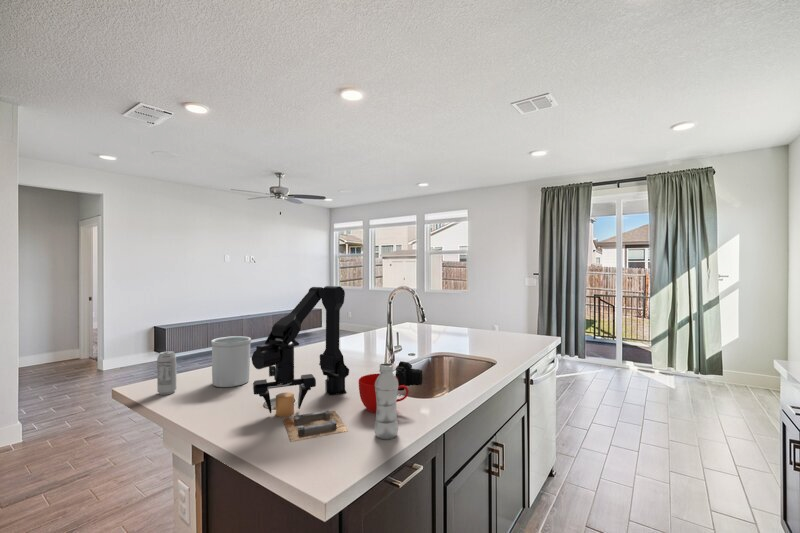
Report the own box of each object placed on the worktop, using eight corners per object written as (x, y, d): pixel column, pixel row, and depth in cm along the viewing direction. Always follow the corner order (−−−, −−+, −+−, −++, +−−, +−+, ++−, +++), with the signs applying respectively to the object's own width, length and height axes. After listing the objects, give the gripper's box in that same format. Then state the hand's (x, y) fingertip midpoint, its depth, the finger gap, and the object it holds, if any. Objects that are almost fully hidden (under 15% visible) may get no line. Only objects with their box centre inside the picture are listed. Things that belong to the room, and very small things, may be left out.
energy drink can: (180, 390, 142) (179, 350, 142) (168, 395, 136) (168, 354, 136) (165, 389, 143) (165, 350, 143) (153, 395, 137) (153, 354, 137)
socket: (335, 412, 120) (335, 406, 120) (348, 432, 106) (348, 425, 106) (283, 420, 114) (283, 414, 114) (290, 443, 99) (290, 436, 99)
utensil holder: (238, 374, 162) (238, 334, 162) (258, 380, 153) (258, 338, 153) (204, 383, 150) (204, 340, 150) (223, 390, 141) (223, 344, 141)
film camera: (418, 392, 139) (418, 368, 139) (393, 391, 141) (393, 367, 141) (424, 380, 154) (424, 358, 154) (401, 378, 156) (401, 357, 156)
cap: (292, 409, 122) (292, 391, 122) (295, 416, 117) (295, 397, 117) (274, 412, 120) (274, 393, 120) (276, 419, 115) (276, 399, 115)
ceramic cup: (401, 422, 113) (401, 389, 113) (351, 414, 119) (351, 382, 118) (414, 406, 125) (414, 376, 125) (368, 400, 131) (368, 371, 131)
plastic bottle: (373, 432, 106) (373, 362, 106) (397, 431, 106) (397, 361, 106) (374, 443, 99) (374, 368, 99) (399, 442, 100) (399, 367, 100)
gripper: (309, 353, 130) (310, 398, 130) (252, 359, 122) (252, 406, 122) (316, 360, 120) (316, 409, 120) (253, 367, 112) (254, 419, 112)
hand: (284, 410), depth 119 cm, fingers open, 8 cm apart
